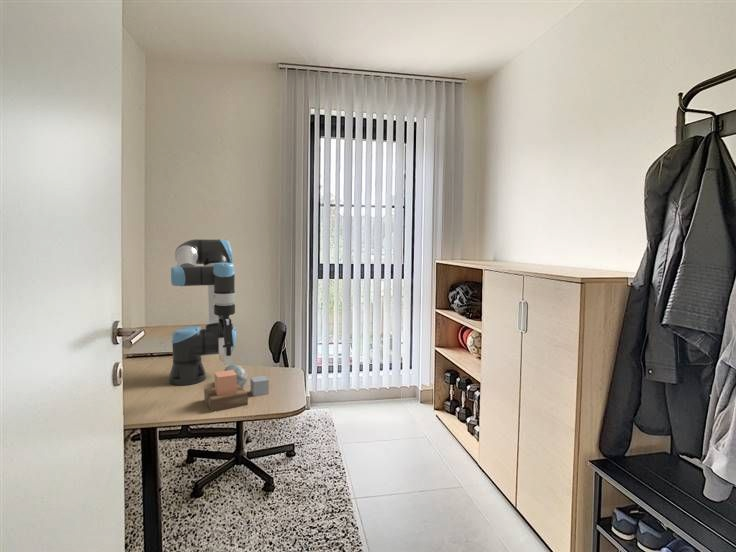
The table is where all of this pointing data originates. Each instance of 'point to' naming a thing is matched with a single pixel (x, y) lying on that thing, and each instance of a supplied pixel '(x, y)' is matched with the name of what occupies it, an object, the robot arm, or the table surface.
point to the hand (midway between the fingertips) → (225, 358)
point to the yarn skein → (238, 373)
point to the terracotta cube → (225, 382)
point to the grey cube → (259, 385)
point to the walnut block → (225, 399)
